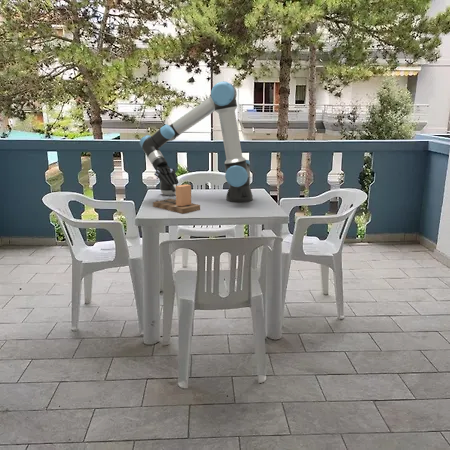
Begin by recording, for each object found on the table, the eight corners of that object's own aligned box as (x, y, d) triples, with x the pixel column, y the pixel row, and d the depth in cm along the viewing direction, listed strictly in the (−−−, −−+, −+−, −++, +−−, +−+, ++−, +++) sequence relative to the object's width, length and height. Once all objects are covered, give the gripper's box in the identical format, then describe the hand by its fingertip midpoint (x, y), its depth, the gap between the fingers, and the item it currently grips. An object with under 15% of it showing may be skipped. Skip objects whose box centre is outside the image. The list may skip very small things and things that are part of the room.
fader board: (153, 206, 239) (153, 201, 238) (170, 203, 247) (170, 198, 247) (182, 213, 223) (182, 208, 222) (200, 209, 231) (200, 204, 231)
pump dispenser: (169, 197, 263) (168, 171, 259) (156, 195, 269) (155, 170, 265) (180, 194, 271) (180, 169, 267) (167, 192, 277) (166, 168, 273)
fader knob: (176, 205, 229) (175, 186, 227) (186, 203, 234) (185, 184, 232) (181, 206, 227) (180, 187, 224) (191, 204, 232) (191, 185, 229)
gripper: (164, 164, 245) (185, 198, 238) (145, 166, 236) (166, 202, 229) (170, 155, 240) (191, 189, 233) (151, 157, 231) (172, 193, 224)
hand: (179, 195), depth 231 cm, fingers closed
